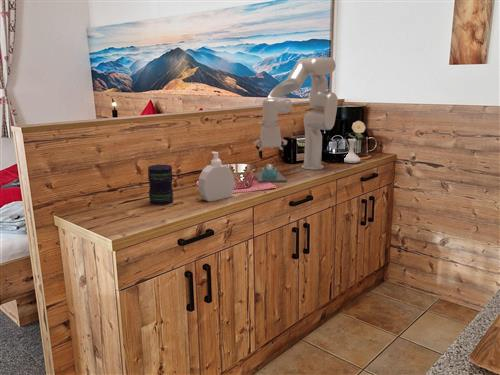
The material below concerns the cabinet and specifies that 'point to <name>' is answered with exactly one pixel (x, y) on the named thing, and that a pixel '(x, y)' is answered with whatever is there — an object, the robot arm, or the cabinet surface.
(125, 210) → the cabinet surface
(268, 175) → the ring
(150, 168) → the storage jar
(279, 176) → the metal plate with knob
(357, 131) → the flower in vase
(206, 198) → the soap bottle
